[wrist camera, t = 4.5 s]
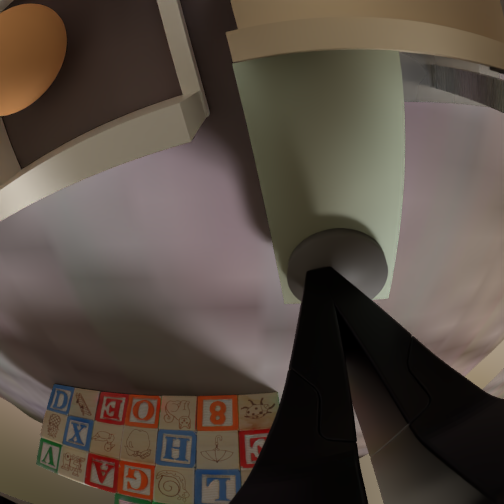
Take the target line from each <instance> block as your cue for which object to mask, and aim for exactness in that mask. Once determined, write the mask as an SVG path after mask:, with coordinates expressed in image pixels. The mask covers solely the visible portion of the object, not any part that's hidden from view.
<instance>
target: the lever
mask: <svg viewBox="0 0 504 504" xmlns="http://www.w3.org/2000/svg"><path fill="white" fill-rule="evenodd" d="M230 1H231V5H232V9H233V12H234V16H235V20H236V24H237V28H238V29H237V30H233V31H229V32H226V36H227V40H228V44H229V48H230V52H231V56H232V60H233V62H238V63H233V64H232V66H233V70H234V74H235V78H236V82H237V86H238V90H239V94H240V98H241V103H242V107H243V111H244V115H245V120H246V124H247V128H248V133H249V137H250V141H251V146H252V150H253V155H254V159H255V163H256V168H257V172H258V177H259V182H260V186H261V191H262V195H263V200H264V205H265V209H266V214H267V219H268V224H269V229H270V233H271V238H272V243H273V248H274V253H275V258H276V263H277V268H278V273H279V278H280V283H281V288H282V293H283V298H284V304H299V303H301V300H302V294H303V288H304V282H305V275H306V272H307V271H308V270H312V269H317V268H321V267H327V266H331V267H332V268H334V269H335V270H336V271H337V272H339V273H340V274H341V275H342V276H343V277H345V278H346V279H347V280H348V281H350V282H351V283H352V284H353V285H354V286H356V287H357V288H358V289H359V290H360V291H361V292H363V293H364V294H365V295H366V296H367V297H369V298H370V299H371V300H375V299H388V297H389V293H390V288H391V282H392V277H393V271H394V266H395V260H396V253H397V246H398V239H399V231H400V223H401V213H402V202H403V188H404V169H405V114H404V95H403V83H402V72H401V63H400V56H399V52H409V53H419V54H427V55H434V56H441V57H447V58H453V59H458V60H463V61H468V62H472V63H476V64H480V65H484V66H488V67H489V69H490V70H491V71H495V72H498V73H502V74H504V0H230ZM239 61H243V62H239Z"/></svg>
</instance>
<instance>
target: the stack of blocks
mask: <svg viewBox="0 0 504 504" xmlns="http://www.w3.org/2000/svg"><path fill="white" fill-rule="evenodd" d="M278 407H279V398H278V392H272V393H262V394H249V395H222V396H166V395H163V396H147V395H134V394H130V395H129V394H121V393H111V392H100V391H95V390H87V389H81V388H74V387H69V386H64V385H58V384H54V386H53V389H52V392H51V395H50V399H49V402H48V406H47V411H46V413H45V417H44V421H43V425H42V429H41V440H40V444H39V450H38V456H37V463H36V464H37V465H39V466H41V467H43V468H45V469H47V470H49V471H52V472H54V473H57V474H59V475H61V476H64V477H66V478H69V479H71V480H74V481H77V482H80V483H82V484H85V485H89V486H92V487H95V488H99V489H103V490H105V491H109V492H112V493H115V504H228V503H229V502H230V501H231V500H232V498H233V497H234V496H235V495H236V493H237V492H238V491H239V489H240V488H241V487H242V485H243V484H244V482H245V481H246V479H247V477H248V476H249V474H250V472H251V470H252V468H253V466H254V464H255V462H256V460H257V458H258V456H259V454H260V451H261V449H262V447H263V445H264V442H265V440H266V438H267V435H268V433H269V431H270V428H271V426H272V423H273V421H274V418H275V416H276V413H277V410H278Z"/></svg>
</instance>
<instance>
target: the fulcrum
mask: <svg viewBox="0 0 504 504" xmlns="http://www.w3.org/2000/svg"><path fill="white" fill-rule="evenodd" d="M399 56H400V63H401V72H402V83H403V95H404V102H439V103H454V104H466V105H475V106H483V107H491V108H493V109H495V110H498V111H500V112H502V113H504V80H503V79H500V78H499V73H498V72H495V71H491V70H490V69H489V67H488V66H484V65H480V64H476V63H472V62H468V61H463V60H458V59H453V58H447V57H441V56H434V55H427V54H419V53H409V52H399Z"/></svg>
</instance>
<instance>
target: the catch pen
mask: <svg viewBox="0 0 504 504" xmlns="http://www.w3.org/2000/svg"><path fill="white" fill-rule="evenodd" d="M13 1H14V0H0V13H1V12H2V11H3V10H4V9H5V8H6V7H7V6H8V5H9V4H10V3H11V2H13ZM157 3H158V7H159V11H160V14H161V18H162V22H163V26H164V30H165V33H166V37H167V41H168V44H169V48H170V52H171V55H172V59H173V62H174V66H175V70H176V73H177V77H178V80H179V84H180V87H181V91H182V94H183V95H180V96H177V97H174V98H170V99H167V100H164V101H161V102H159V103H156V104H153V105H150V106H147V107H145V108H142V109H139V110H137V111H134V112H132V113H129V114H127V115H124V116H122V117H119V118H117V119H115V120H112V121H110V122H108V123H106V124H103V125H101V126H99V127H97V128H95V129H93V130H91V131H89V132H86V133H84V134H82V135H80V136H78V137H77V138H75V139H73V140H71V141H69V142H67V143H65V144H63V145H61V146H60V147H58V148H56V149H54V150H53V151H51V152H49V153H47V154H46V155H44V156H42V157H41V158H39V159H37V160H36V161H34V162H33V163H31V164H29V165H28V166H26V167H25V168H23V169H22V170H21V168H20V165H19V163H18V161H17V158H16V156H15V153H14V151H13V148H12V146H11V143H10V140H9V138H8V135H7V132H6V129H5V126H4V123H3V120H2V117H1V116H0V221H2V220H3V219H5V218H7V217H8V216H10V215H12V214H14V213H16V212H17V211H19V210H21V209H23V208H25V207H27V206H28V205H30V204H32V203H34V202H36V201H38V200H40V199H42V198H44V197H46V196H48V195H50V194H52V193H54V192H56V191H59V190H61V189H63V188H65V187H67V186H69V185H72V184H74V183H76V182H79V181H81V180H83V179H86V178H88V177H90V176H93V175H95V174H98V173H100V172H103V171H105V170H108V169H110V168H113V167H116V166H118V165H121V164H124V163H126V162H129V161H132V160H135V159H138V158H141V157H144V156H147V155H150V154H153V153H156V152H159V151H162V150H165V149H168V148H172V147H175V146H179V145H182V144H185V143H189V142H191V141H192V140H193V138H194V136H195V135H196V133H197V131H198V130H199V128H200V126H201V125H202V123H203V122H204V120H205V118H206V117H208V116H209V114H210V111H209V108H208V104H207V100H206V97H205V93H204V89H203V85H202V82H201V78H200V74H199V71H198V67H197V63H196V59H195V56H194V52H193V48H192V45H191V41H190V37H189V33H188V30H187V26H186V22H185V18H184V15H183V11H182V7H181V3H180V0H157Z"/></svg>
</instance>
